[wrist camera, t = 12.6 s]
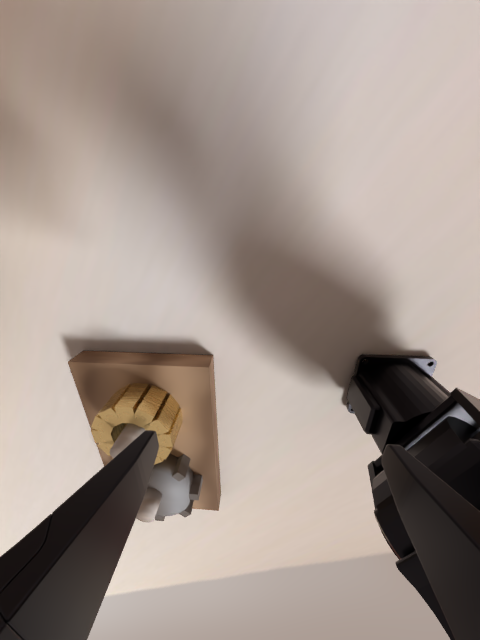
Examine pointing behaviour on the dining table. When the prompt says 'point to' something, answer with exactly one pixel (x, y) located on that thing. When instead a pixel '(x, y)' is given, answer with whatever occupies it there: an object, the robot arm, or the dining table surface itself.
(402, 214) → the dining table surface
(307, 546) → the dining table surface
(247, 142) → the dining table surface
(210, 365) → the gear board
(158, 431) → the brass gear
